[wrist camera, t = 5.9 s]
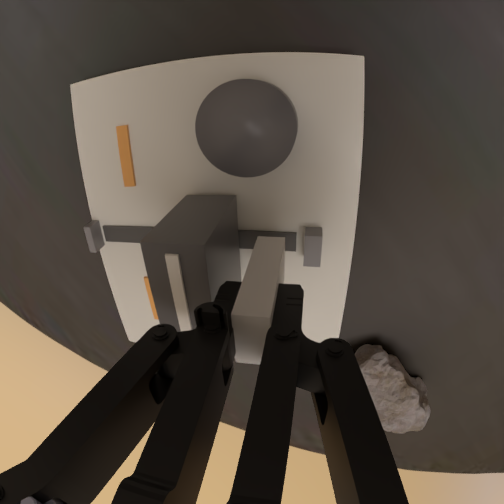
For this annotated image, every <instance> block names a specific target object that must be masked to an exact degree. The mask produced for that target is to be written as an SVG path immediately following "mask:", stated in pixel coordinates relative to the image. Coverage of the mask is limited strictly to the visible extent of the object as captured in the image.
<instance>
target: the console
mask: <svg viewBox="0 0 504 504" xmlns="http://www.w3.org/2000/svg"><path fill="white" fill-rule="evenodd" d="M70 87H71V98H72V107H73V116H74V124H75V132H76V139H77V145H78V152H79V158H80V164H81V169H82V175H83V180H84V185H85V190H86V195H87V199H88V204H89V208H90V213H91V217H92V221H91V222H90V223H88V224H87V225H86V226H85V227H84V231H85V235H86V238H87V242H88V246H89V249H90V252H94V253H97V252H98V251H99V250H100V252H101V256H102V260H103V263H104V266H105V270H106V273H107V277H108V280H109V283H110V286H111V290H112V293H113V296H114V299H115V302H116V305H117V308H118V311H119V314H120V317H121V319H122V322H123V325H124V328H125V331H126V333H127V336H128V339H129V341H132V342H137V341H138V340H139V339H140V338H141V337H142V336H143V335H144V334H145V333H146V332H147V331H148V330H149V329H150V328H151V327H153V326H155V325H158V324H160V323H159V319H158V315H157V312H156V308H155V304H154V300H153V296H152V292H151V288H150V284H149V280H148V276H147V272H146V267H145V263H144V259H143V254H142V250H141V245H140V241H141V240H142V239H143V238H144V237H145V236H146V235H147V234H148V233H149V232H150V231H151V230H152V229H153V228H154V227H155V226H156V225H157V224H158V223H159V222H160V221H161V220H162V219H163V218H164V217H165V216H166V215H167V214H168V213H169V212H170V211H171V210H172V209H173V208H174V207H175V206H176V205H177V204H178V203H179V202H180V201H181V200H182V199H183V198H184V197H185V196H186V195H236V200H237V217H238V235H239V251H240V268H241V282H242V281H243V278H244V275H245V272H246V269H247V266H248V263H249V260H250V257H251V254H252V251H253V249H254V246H255V243H256V240H257V237H258V236H264V237H285V280H284V284H300V285H301V287H302V289H303V290H304V298H303V313H302V332H303V334H304V335H305V336H306V337H307V338H309V339H310V340H313V341H315V342H319V343H321V342H322V341H323V340H325V339H329V338H339V333H340V328H341V323H342V317H343V311H344V306H345V300H346V294H347V287H348V281H349V274H350V267H351V260H352V253H353V245H354V237H355V228H356V219H357V210H358V200H359V189H360V176H361V162H362V146H363V124H364V56H358V55H347V54H332V53H310V52H267V53H244V54H229V55H218V56H208V57H199V58H191V59H184V60H177V61H170V62H164V63H158V64H153V65H147V66H142V67H137V68H132V69H128V70H123V71H119V72H115V73H111V74H107V75H103V76H99V77H95V78H91V79H88V80H84V81H81V82H78V83H74V84H71V85H70ZM234 358H235V357H234Z"/></svg>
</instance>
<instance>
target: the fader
mask: <svg viewBox="0 0 504 504" xmlns="http://www.w3.org/2000/svg"><path fill="white" fill-rule="evenodd" d="M140 245H141V250H142V254H143V259H144V263H145V267H146V272H147V276H148V280H149V284H150V288H151V292H152V296H153V300H154V304H155V308H156V312H157V315H158V319H159V323H160V324H170V325H172V326H174V327H175V329H176V330H177V332H180V331H188V330H193V329H195V328H196V327H197V326H196V321H195V316H194V310H195V308H196V307H197V306H199V305H201V304H203V303H206V302H213V301H214V300H215V297H216V295H217V292H218V290H219V287H220V286H221V285H222V284H223V283H225V282H226V281H238V282H241V268H240V251H239V235H238V217H237V200H236V195H186V196H185V197H184V198H183V199H182V200H181V201H180V202H179V203H178V204H177V205H176V206H175V207H174V208H173V209H172V210H171V211H170V212H169V213H168V214H167V215H166V216H165V217H164V218H163V219H162V220H161V221H160V222H159V223H158V224H157V225H156V226H155V227H154V228H153V229H152V230H151V231H150V232H149V233H148V234H147V235H146V236H145V237H144V238H143V239H142V240H141V241H140Z"/></svg>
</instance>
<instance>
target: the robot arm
mask: <svg viewBox="0 0 504 504" xmlns="http://www.w3.org/2000/svg"><path fill="white" fill-rule="evenodd" d="M284 280H285V237H264V236H258V237H257V240H256V243H255V246H254V249H253V251H252V254H251V257H250V260H249V263H248V266H247V269H246V272H245V275H244V278H243V281H242V282H238V281H226V282H225V283H223V284H222V285H221V286H220V287H219V290H218V292H217V295H216V297H215V300H214V301H213V302H206V303H203V304H201V305H199V306H197V307H196V308H195V310H194V316H195V321H196V326H197V327H196V328H195V329H193V330H188V331H180V332H177V330H176V329H175V327H174V326H172V325H170V324H158V325H155V326H153V327H151V328H150V329H149V330H148V331H147V332H146V333H145V334H144V335H143V336H142V337H141V338H140V339H139V340H138V341H137V342H136V343H135V344H134V345H133V346H132V347H131V348H130V350H129V351H128V352H127V353H126V354H125V355H124V356H123V357H122V358H121V359H120V360H119V361H118V362H117V363H116V364H115V365H114V366H113V367H112V368H111V369H110V371H109V372H108V373H107V374H106V375H105V376H104V377H103V378H102V379H101V380H100V381H99V382H98V383H97V384H96V385H95V386H94V387H93V389H92V390H91V391H90V392H89V393H88V394H87V395H86V396H85V397H84V398H83V399H82V400H81V401H80V402H79V403H78V405H77V406H76V407H75V408H74V409H73V410H72V411H71V412H70V413H69V414H68V415H67V416H66V417H65V419H64V420H63V421H62V422H61V423H60V424H59V425H58V426H57V427H56V428H55V429H54V431H53V432H52V433H51V434H50V435H49V436H48V437H47V438H46V439H45V440H44V441H43V442H42V444H41V445H40V446H39V447H38V448H37V449H36V450H35V451H34V452H33V454H32V455H31V456H30V457H29V458H28V459H27V460H26V461H24V462H22V463H20V464H18V465H16V466H14V467H12V468H11V469H9V470H7V471H5V472H3V473H1V474H0V504H90V503H91V502H92V501H93V500H94V499H95V498H96V496H97V495H98V494H99V493H100V491H101V490H102V489H103V487H104V486H105V485H106V484H107V483H108V481H109V480H110V479H111V478H112V476H113V475H114V474H115V472H116V471H117V470H118V469H119V467H120V466H121V465H122V463H123V462H124V461H125V460H126V458H127V457H128V456H129V454H130V453H131V452H132V451H133V449H134V448H135V447H136V445H137V444H138V443H139V442H140V440H141V439H142V438H143V436H144V435H145V434H146V433H147V431H148V430H149V428H150V427H151V426H152V425H153V423H154V422H155V423H154V426H153V428H152V430H151V433H150V435H149V438H148V440H147V442H146V445H145V447H144V450H143V452H142V454H141V457H140V459H139V462H138V464H137V466H136V469H135V471H134V473H133V474H132V475H131V476H130V477H127V478H124V479H123V480H122V482H121V483H120V485H119V487H118V489H117V491H116V494H115V496H114V499H113V501H112V503H111V504H196V501H197V497H198V494H199V491H200V487H201V484H202V481H203V477H204V473H205V470H206V467H207V463H208V460H209V456H210V453H211V449H212V446H213V443H214V439H215V435H216V432H217V429H218V425H219V421H220V418H221V414H222V411H223V407H224V404H225V400H226V397H227V393H228V390H229V386H230V382H231V379H232V375H233V361H234V357H235V358H236V362H240V363H249V364H259V365H260V368H259V373H258V377H257V382H256V387H255V391H254V396H253V401H252V405H251V410H250V414H249V419H248V423H247V428H246V432H245V436H244V441H243V445H242V449H241V454H240V458H239V462H238V466H237V471H236V475H235V479H234V483H233V488H232V492H231V495H230V499H229V501H228V502H227V504H281V499H282V492H283V485H284V479H285V472H286V465H287V458H288V451H289V443H290V435H291V427H292V419H293V411H294V402H295V393H296V387H299V388H302V389H304V390H307V391H310V392H311V395H312V399H313V403H314V407H315V411H316V415H317V420H318V424H319V428H320V432H321V437H322V441H323V445H324V450H325V454H326V458H327V462H328V467H329V471H330V476H331V480H332V485H333V489H334V494H335V498H336V503H337V504H409V503H408V500H407V497H406V494H405V491H404V488H403V484H402V481H401V479H400V476H399V472H398V470H397V467H396V464H395V461H394V458H393V455H392V452H391V449H390V446H389V444H388V441H387V438H386V435H385V432H384V430H383V427H382V424H381V421H380V419H379V416H378V413H377V411H376V408H375V405H374V403H373V400H372V397H371V395H370V392H369V390H368V387H367V385H366V382H365V379H364V377H363V374H362V372H361V369H360V367H359V364H358V362H357V359H356V357H355V354H354V352H353V349H352V347H351V346H350V344H349V343H348V342H346V341H345V340H342V339H339V338H329V339H325V340H323V341H322V342H321V343H319V342H315V341H313V340H310V339H309V338H307V337H306V336H305V335H304V334H303V332H302V313H303V298H304V290H303V289H302V287H301V285H300V284H284Z"/></svg>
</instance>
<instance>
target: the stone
mask: <svg viewBox="0 0 504 504" xmlns="http://www.w3.org/2000/svg"><path fill="white" fill-rule="evenodd" d="M355 357H356V359H357V362H358V364H359V367H360V369H361V372H362V374H363V377H364V379H365V382H366V385H367V387H368V390H369V392H370V395H371V397H372V400H373V403H374V405H375V408H376V411H377V413H378V416H379V419H380V421H381V424H382V427H383V429H384V430H385V431H389V432H390V431H391V432H393V433H405V432H408V431H419V430H421V429H423V428H424V426H425V425H426V422H427V420H428V418H429V416H430V408H429V404H428V399H427V396H426V395H427V388H426V386H425V384H424V383H423V380H422V379H421V378H420V377H417V378H414V377H410V376H409V374H408V373H407V372H406V371H405V369H404V367H403V365H402V364H401V363H400V362H399V360H398V358H397V357H396V356H394V355H392V354H390V355H388V354H387V352H386V351H384V350H383V349H382V347H381V346H380V345H370V344H365V345H363V346H361V347H359V348H358V349H357V351H356V352H355Z"/></svg>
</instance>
